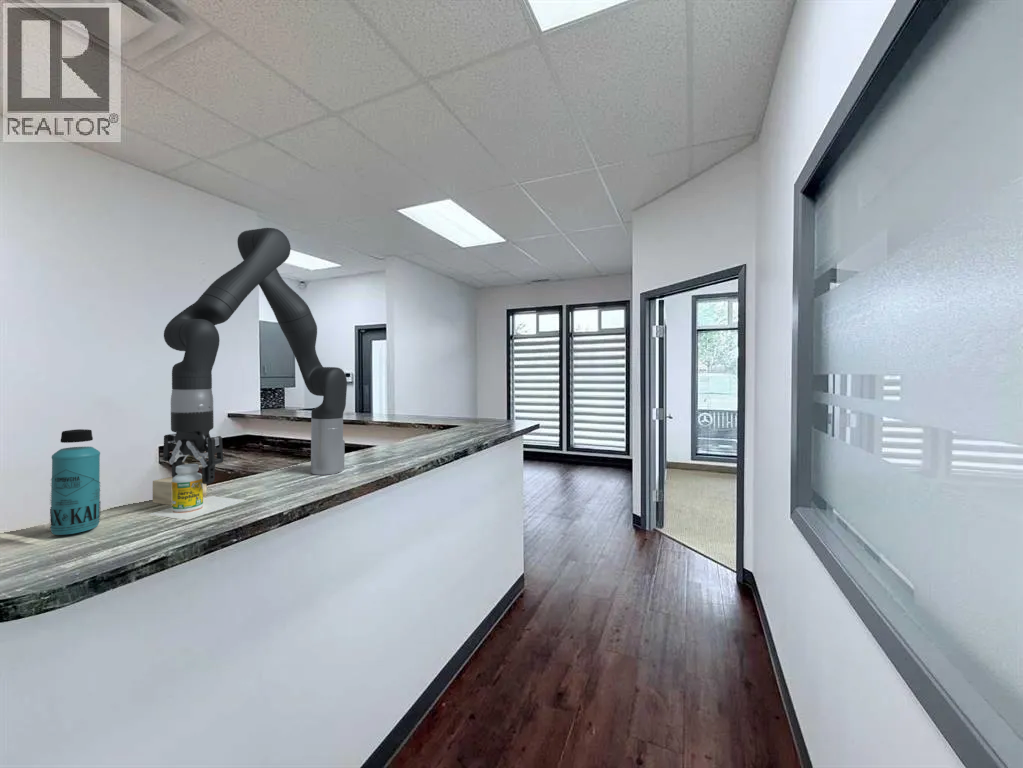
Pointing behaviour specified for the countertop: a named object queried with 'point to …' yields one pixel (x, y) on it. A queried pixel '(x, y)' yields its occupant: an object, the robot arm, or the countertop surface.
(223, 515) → the countertop surface
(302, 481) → the countertop surface
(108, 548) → the countertop surface
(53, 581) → the countertop surface
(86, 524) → the beverage bottle
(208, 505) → the board
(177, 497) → the supplement bottle
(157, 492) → the block
